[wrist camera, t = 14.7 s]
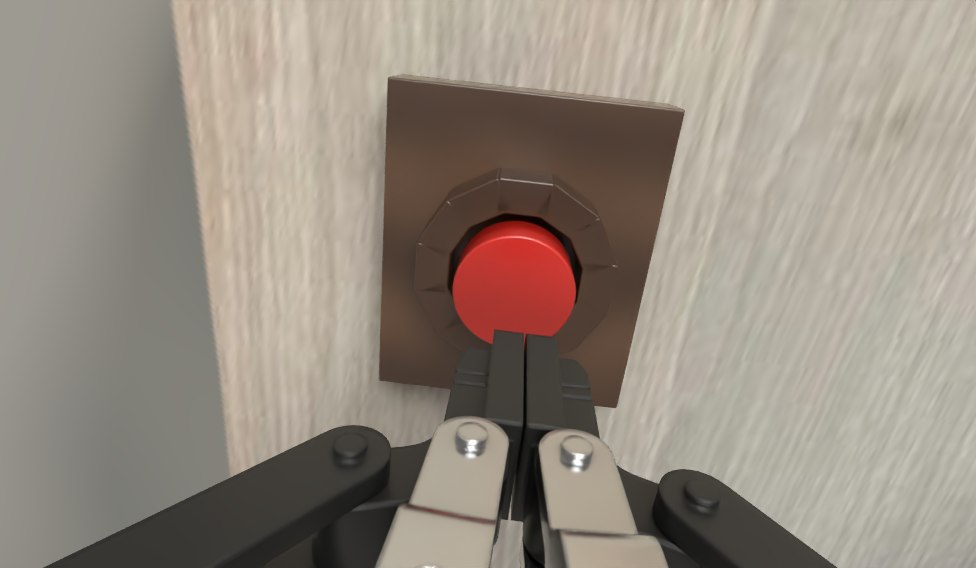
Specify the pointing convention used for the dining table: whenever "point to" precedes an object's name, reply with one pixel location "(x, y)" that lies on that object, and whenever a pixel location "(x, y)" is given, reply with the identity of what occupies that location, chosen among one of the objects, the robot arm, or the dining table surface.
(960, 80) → the dining table surface
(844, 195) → the dining table surface
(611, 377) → the block
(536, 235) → the button
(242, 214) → the dining table surface
